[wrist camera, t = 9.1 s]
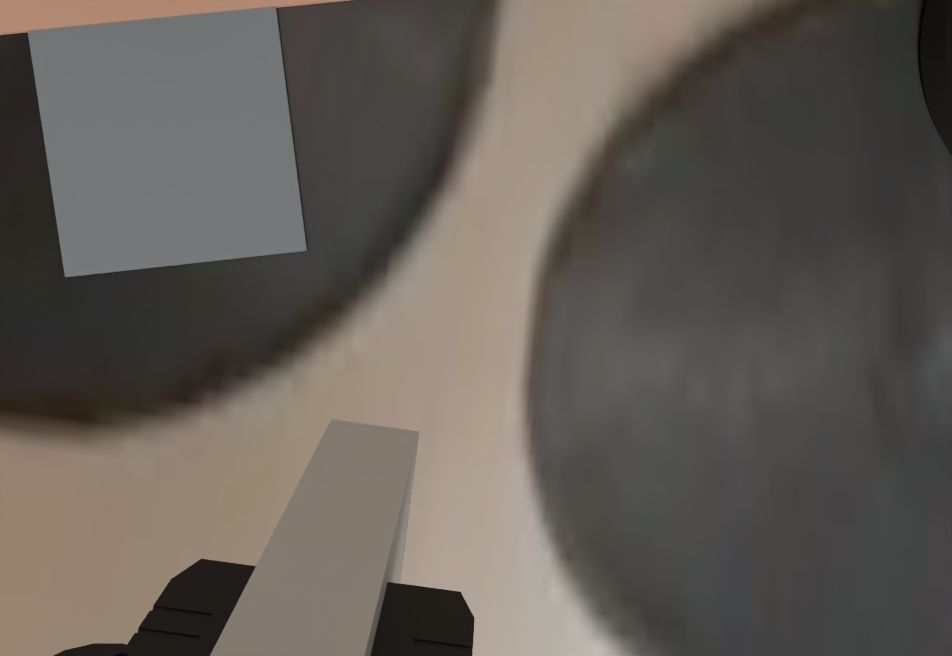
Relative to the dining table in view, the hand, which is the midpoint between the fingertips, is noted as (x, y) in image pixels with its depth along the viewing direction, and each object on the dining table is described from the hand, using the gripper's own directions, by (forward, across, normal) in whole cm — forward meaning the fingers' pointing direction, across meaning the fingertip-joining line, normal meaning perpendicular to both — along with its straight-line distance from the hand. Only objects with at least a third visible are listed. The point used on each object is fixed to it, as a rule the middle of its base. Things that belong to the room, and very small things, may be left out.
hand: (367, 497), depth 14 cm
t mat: (+22, -13, +7) cm, 27 cm away
